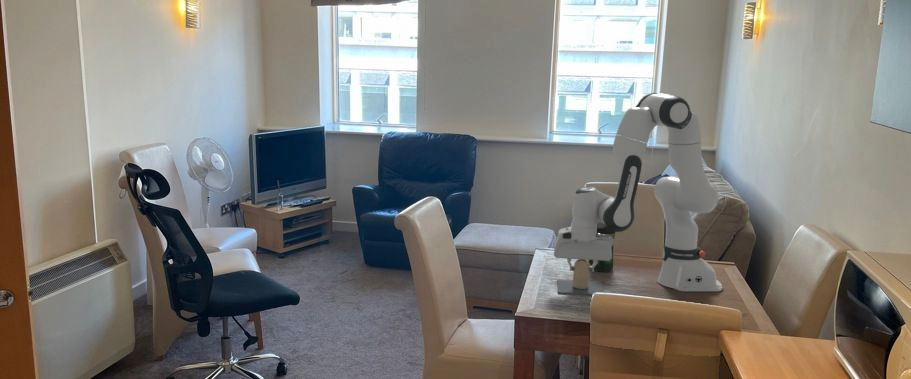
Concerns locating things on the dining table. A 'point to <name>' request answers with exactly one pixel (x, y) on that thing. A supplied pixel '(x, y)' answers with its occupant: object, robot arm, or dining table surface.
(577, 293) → the placemat
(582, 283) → the candle
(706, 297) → the dining table surface
